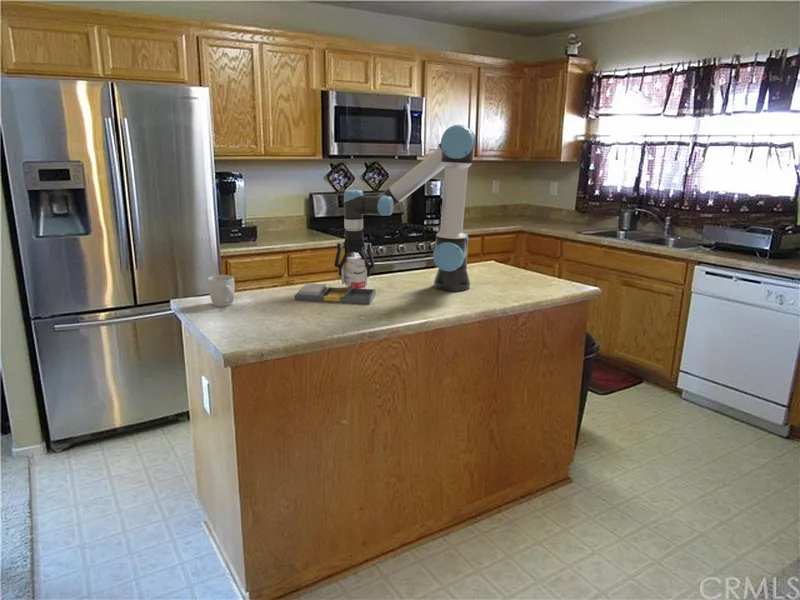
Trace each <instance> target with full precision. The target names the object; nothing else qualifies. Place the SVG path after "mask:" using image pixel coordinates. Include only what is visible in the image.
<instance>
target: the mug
mask: <svg viewBox="0 0 800 600" xmlns="http://www.w3.org/2000/svg"><path fill="white" fill-rule="evenodd" d="M207 283H208V292H209V297H210V300H211V303H212V304H213V305H214V306H215V307H218V308H219V307H220V308H221V307H222V308H223V307H228V306H232V305H233V303H234V299H235V293H236V291H235V287H236V286H235V277H234V276H233V275H228V274H220V275H219V274H218V275H212V276H209V277H208V279H207Z"/></svg>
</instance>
